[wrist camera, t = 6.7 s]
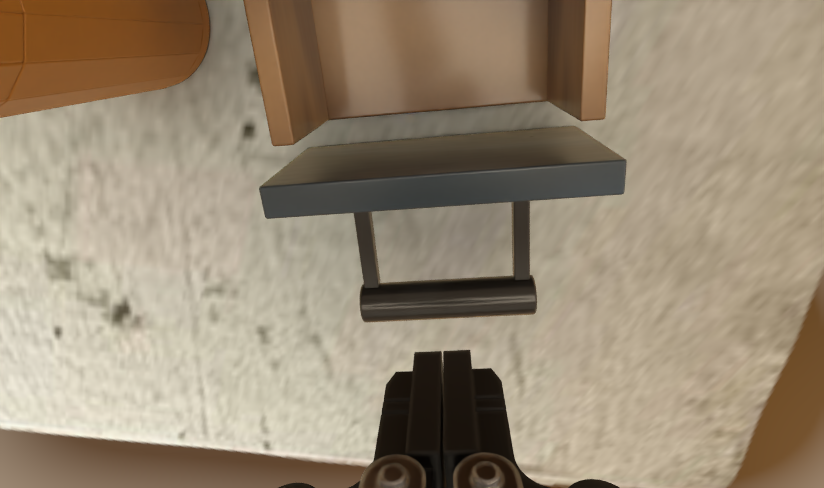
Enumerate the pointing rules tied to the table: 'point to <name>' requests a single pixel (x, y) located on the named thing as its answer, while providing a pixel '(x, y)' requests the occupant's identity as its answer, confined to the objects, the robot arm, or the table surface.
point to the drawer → (432, 91)
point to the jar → (95, 49)
